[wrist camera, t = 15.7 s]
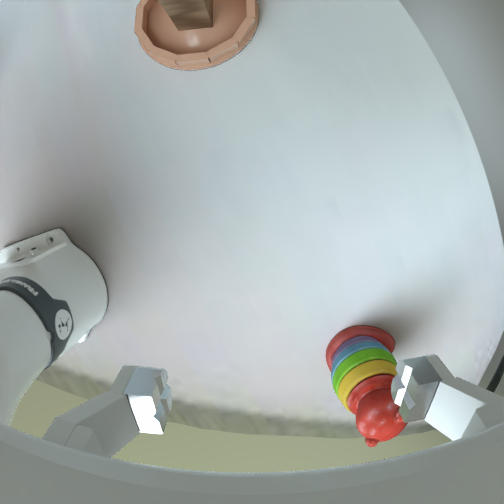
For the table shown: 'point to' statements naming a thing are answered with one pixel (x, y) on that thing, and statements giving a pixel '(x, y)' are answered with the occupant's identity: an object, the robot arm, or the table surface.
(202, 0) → the walnut block
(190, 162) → the table surface
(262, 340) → the table surface
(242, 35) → the dish
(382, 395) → the stacking bear
